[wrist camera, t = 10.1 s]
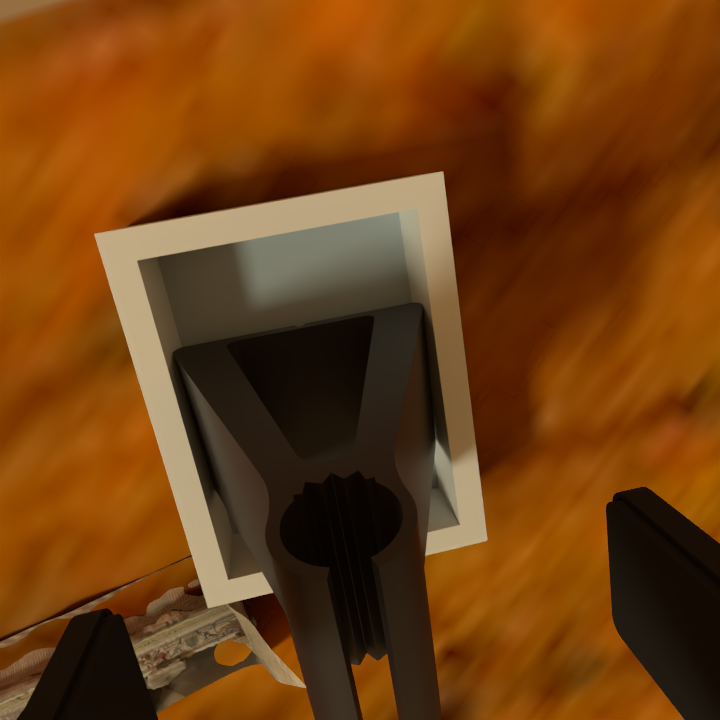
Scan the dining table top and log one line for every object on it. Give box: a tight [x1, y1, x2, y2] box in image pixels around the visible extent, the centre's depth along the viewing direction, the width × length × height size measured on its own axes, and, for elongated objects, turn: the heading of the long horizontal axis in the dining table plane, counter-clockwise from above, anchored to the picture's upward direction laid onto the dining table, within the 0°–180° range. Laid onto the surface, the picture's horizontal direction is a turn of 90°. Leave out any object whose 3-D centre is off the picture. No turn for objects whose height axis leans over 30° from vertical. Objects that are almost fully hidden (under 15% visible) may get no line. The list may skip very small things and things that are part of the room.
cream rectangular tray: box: [94, 171, 487, 608], centre depth 22 cm, size 11×14×4 cm
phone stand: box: [173, 303, 441, 720], centre depth 17 cm, size 9×6×12 cm, turn 99°
